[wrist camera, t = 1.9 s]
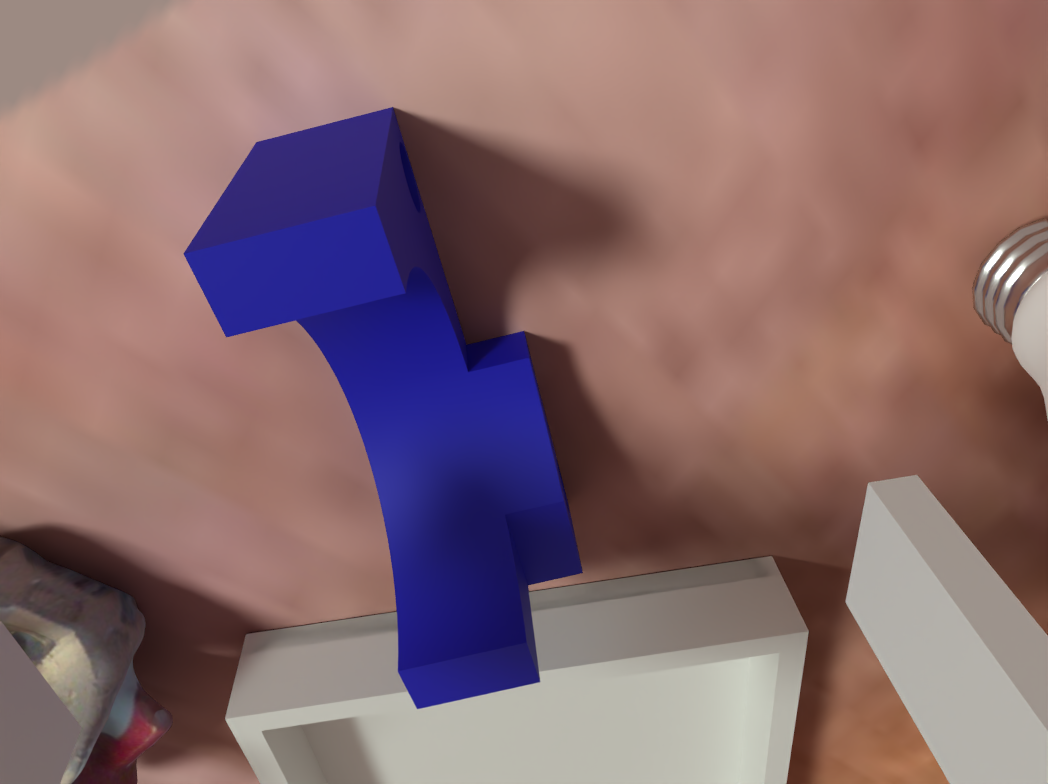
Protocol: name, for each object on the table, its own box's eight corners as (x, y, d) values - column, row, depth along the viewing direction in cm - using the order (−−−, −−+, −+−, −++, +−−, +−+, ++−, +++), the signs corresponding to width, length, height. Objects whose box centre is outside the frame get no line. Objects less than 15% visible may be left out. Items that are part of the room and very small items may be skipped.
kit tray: (772, 555, 25) (808, 631, 23) (745, 824, 35) (769, 898, 32) (245, 634, 25) (225, 718, 22) (365, 883, 34) (359, 962, 32)
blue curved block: (567, 497, 23) (602, 668, 18) (421, 531, 23) (417, 709, 18) (462, 87, 17) (473, 181, 12) (258, 139, 17) (183, 253, 12)
